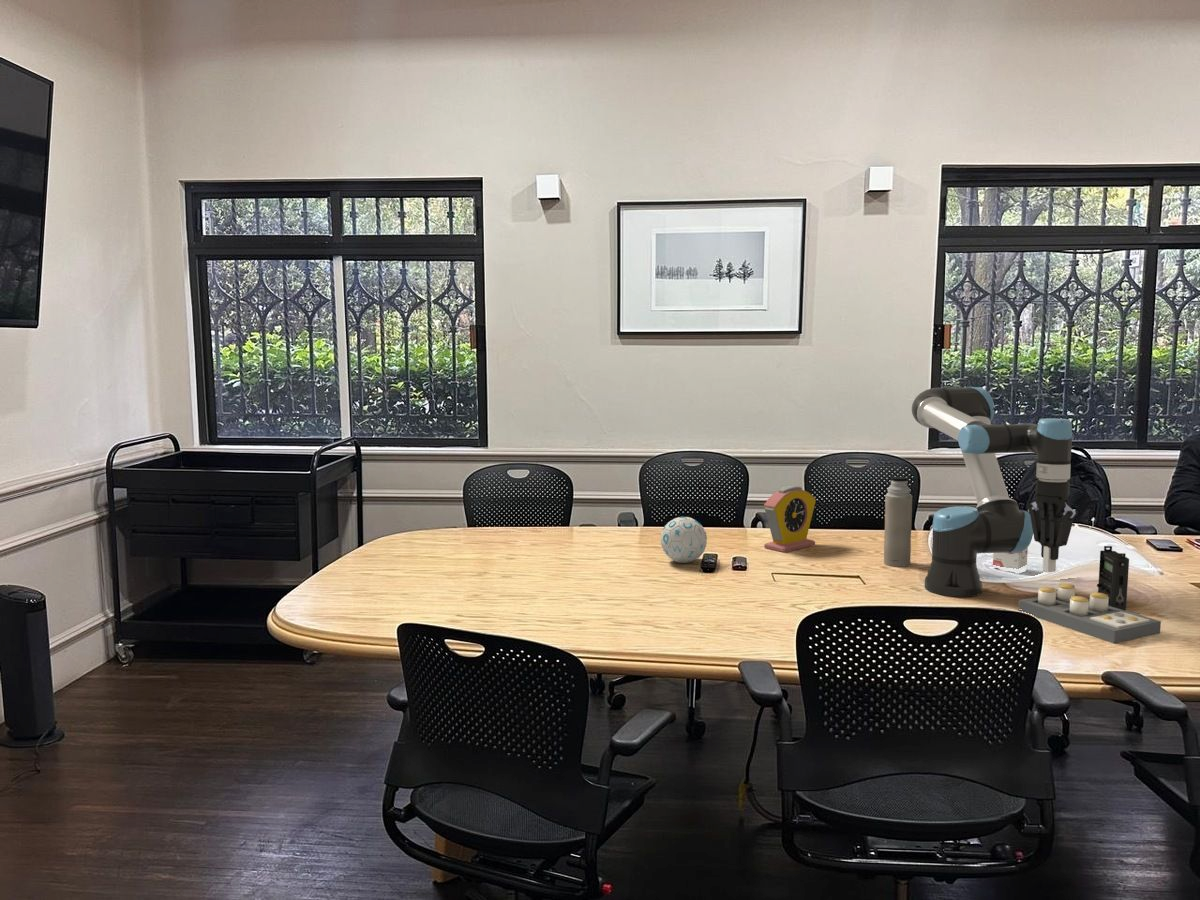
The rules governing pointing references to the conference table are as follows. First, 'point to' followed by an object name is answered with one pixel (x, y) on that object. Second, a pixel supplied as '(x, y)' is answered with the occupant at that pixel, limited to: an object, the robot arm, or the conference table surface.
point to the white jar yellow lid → (1079, 606)
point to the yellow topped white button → (1098, 602)
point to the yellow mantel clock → (789, 518)
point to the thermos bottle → (898, 523)
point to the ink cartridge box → (1011, 559)
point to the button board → (1095, 621)
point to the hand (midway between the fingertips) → (1049, 571)
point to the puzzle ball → (683, 539)
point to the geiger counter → (1114, 577)
